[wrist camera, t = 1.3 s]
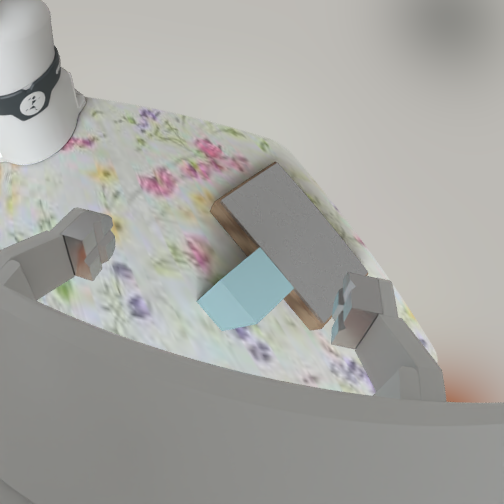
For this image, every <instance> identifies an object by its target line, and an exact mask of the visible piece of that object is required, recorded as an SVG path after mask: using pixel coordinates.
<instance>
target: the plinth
mask: <svg viewBox="0 0 504 504" xmlns="http://www.w3.org/2000/svg"><path fill="white" fill-rule="evenodd" d="M210 212H211V213H212V214H213V216H214V217H215V218H216V219H217V220H218V222H219V223H220V224H221V225H222V226H223V228H224V229H225V230H226V231H227V232H228V234H229V235H230V236H231V237H232V238H233V240H234V241H235V242H236V243H237V244H238V246H239V247H240V248H241V249H242V250H243V251H244V253H245V254H246V255H247V256H248V257H249V256H250V255H251V254H252V253H253V252H255V251H256V250H257V249H258V248H259V247H260V248H261V249H262V250H263V251H264V252H265V254H266V255H267V256H268V257H269V258H270V260H271V261H272V262H273V263H274V264H275V266H276V267H277V268H278V269H279V270H280V272H281V273H282V274H283V275H284V276H285V278H286V279H287V280H288V281H289V282H290V283H291V285H292V286H293V287H294V289H293V290H292V291H291V292H290V293H289V294H288V295H287V296H286V297H285V298H284V300H285V301H286V302H287V304H288V305H289V306H290V307H291V308H292V310H293V311H294V312H295V313H296V314H297V315H298V317H299V318H300V319H301V320H302V321H303V323H304V324H305V325H306V326H307V327H308V328H309V330H317V329H322V328H323V326H324V325H325V324H326V323H327V322H328V321H329V320H330V319H331V317H332V311H333V304H334V301H335V297H336V295H337V293H338V290H340V289H341V288H343V279H344V277H345V275H346V274H347V272H352V273H356V274H360V275H365V276H367V275H368V271H367V270H366V269H365V267H364V266H363V265H362V263H361V262H360V261H359V260H358V258H357V257H356V256H355V254H354V253H353V252H352V251H351V249H350V248H349V247H348V246H347V244H346V243H345V242H344V241H343V239H342V238H341V237H340V236H339V234H338V233H337V232H336V231H335V229H334V228H333V227H332V226H331V225H330V223H329V222H328V221H327V220H326V218H325V217H324V216H323V215H322V214H321V212H320V211H319V210H318V209H317V208H316V206H315V205H314V204H313V203H312V202H311V201H310V199H309V198H308V197H307V196H306V195H305V194H304V192H303V191H302V190H301V189H300V188H299V187H298V185H297V184H296V183H295V182H294V181H293V180H292V179H291V177H290V176H289V175H288V174H287V173H286V172H285V171H284V170H283V168H282V167H281V166H280V165H279V164H278V163H276V162H274V163H272V164H271V165H269V166H268V167H266V168H264V169H263V170H261V171H260V172H258V173H257V174H255V175H254V176H252V177H251V178H249V179H248V180H246V181H245V182H243V183H242V184H240V185H239V186H237V187H236V188H234V189H233V190H231V191H230V192H228V193H227V194H225V195H224V196H222V197H221V198H219V199H218V200H216V201H215V202H214V204H213V206H212V208H211V210H210Z"/></svg>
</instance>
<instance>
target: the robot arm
mask: <svg viewBox="0 0 504 504" xmlns="http://www.w3.org/2000/svg"><path fill="white" fill-rule="evenodd" d="M85 104H86V100H85V97H84V96H83V95H82V94H81V93H79V92H78V91H77V90H76V89H74V85H73V80H72V76H71V74H70V72H67V71H66V70H65V69H63V68H61V67H60V57H59V54H58V51H57V48H56V47H55V46H54V43H53V35H52V26H51V16H50V11H49V8H48V7H47V5H46V4H45V3H44V2H43V1H41V0H0V162H5V161H6V162H10V163H13V164H17V165H29V164H34V163H38V162H40V161H43V160H45V159H47V158H49V157H50V156H52V155H53V154H55V153H56V152H57V151H59V150H60V149H61V148H62V147H63V146H64V145H65V144H66V143H67V141H68V140H69V139H70V137H71V136H72V134H73V132H74V130H75V127H76V124H77V118H78V115H79V113H80V112H81V110H82V109H83V107H84V106H85ZM112 226H113V223H112V218H111V217H110V216H109V215H105V214H101V213H97V212H93V211H90V210H85V209H81V208H74V209H73V210H71V211H70V212H69V213H68V214H67V215H66V216H65V217H64V218H63V219H62V220H61V221H60V222H59V223H58V224H57V225H56V226H55V227H54V228H53V229H52V230H50V231H45V232H42V233H40V234H37V235H35V236H32V237H30V238H28V239H25V240H23V241H20V242H18V243H16V244H13V245H11V246H9V247H7V248H4V249H2V250H0V504H504V403H456V402H446V394H445V387H444V380H443V374H442V370H441V368H440V367H439V366H438V364H437V363H436V362H435V360H434V359H433V358H432V356H431V355H430V354H429V352H428V351H427V350H426V349H425V347H424V346H423V345H422V343H421V342H420V341H419V339H418V338H417V337H416V336H415V334H414V333H413V332H412V331H411V329H410V328H409V327H408V326H407V324H406V323H405V322H404V321H403V319H401V318H398V313H397V307H396V301H395V296H394V290H393V285H392V282H391V281H389V280H385V279H380V278H373V277H369V276H365V275H360V274H356V273H352V272H347V274H346V275H345V277H344V279H343V288H341V289H340V290H338V293H337V295H336V297H335V301H334V304H333V311H332V318H333V319H334V321H335V323H334V325H333V327H332V337H331V344H333V345H337V346H342V347H346V348H351V349H356V350H355V352H356V354H357V355H358V357H359V359H360V361H361V363H362V365H363V367H364V369H365V371H366V373H367V375H368V377H369V379H370V381H371V382H372V384H373V386H374V388H375V390H376V393H375V394H374V395H373V396H369V395H361V394H354V393H347V392H340V391H334V390H327V389H321V388H316V387H310V386H304V385H299V384H294V383H289V382H284V381H279V380H274V379H270V378H265V377H260V376H256V375H252V374H247V373H243V372H239V371H235V370H231V369H227V368H223V367H219V366H216V365H212V364H208V363H205V362H201V361H197V360H194V359H191V358H187V357H184V356H180V355H177V354H174V353H171V352H167V351H164V350H161V349H158V348H155V347H152V346H149V345H146V344H143V343H140V342H137V341H134V340H131V339H129V338H126V337H123V336H120V335H118V334H115V333H112V332H109V331H107V330H104V329H102V328H99V327H96V326H94V325H91V324H89V323H86V322H84V321H81V320H79V319H76V318H74V317H72V316H69V315H67V314H65V313H62V312H60V311H58V310H55V309H53V308H51V307H49V306H46V305H44V304H42V303H40V302H38V301H37V300H38V299H40V298H41V297H43V296H44V295H46V294H47V293H49V292H51V291H52V290H54V289H55V288H57V287H59V286H60V285H62V284H63V283H65V282H67V281H68V280H70V279H71V278H73V277H74V275H75V276H78V277H81V278H84V279H88V280H91V281H93V280H94V279H95V278H96V276H97V275H98V274H99V272H100V271H101V270H102V263H104V262H107V261H108V260H109V259H110V258H111V256H112V255H113V252H114V249H115V236H114V234H113V233H112V232H111V230H110V229H111V228H112Z"/></svg>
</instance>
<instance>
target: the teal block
mask: <svg viewBox="0 0 504 504" xmlns="http://www.w3.org/2000/svg"><path fill="white" fill-rule="evenodd" d="M293 289H294V287H293V286H292V285H291V283H290V282H289V281H288V280H287V279H286V278H285V276H284V275H283V274H282V273H281V272H280V270H279V269H278V268H277V267H276V266H275V264H274V263H273V262H272V261H271V260H270V258H269V257H268V256H267V255H266V254H265V252H264V251H263V250H262V249H261V248H260V247H259V248H258V249H257V250H256V251H255V252H253V253H252V254H251V255H250V256H249V257H247V258H246V259H245V260H244V261H242V262H241V263H240V264H239V265H238V266H236V267H235V268H234V269H233V270H232V271H230V272H229V273H228V274H227V275H226V276H224V277H223V278H222V279H221V280H220V281H219V282H217V283H216V284H215V285H214V286H213V287H212V288H211V289H210V290H209V291H208V292H206V293H205V294H204V295H203V296H202V297H201V298H200V299H199V300H198V301H197V302H198V304H199V305H200V306H201V307H202V308H203V309H204V311H205V312H206V313H207V314H208V315H209V317H210V318H211V319H212V320H213V321H214V322H215V324H216V325H217V326H218V327H219V328H220V329H221V330H222V331H224V330H229V329H234V328H239V327H244V326H249V325H254V324H257V323H258V322H260V321H261V320H262V319H263V318H264V317H265V316H266V315H267V314H268V313H269V312H270V311H271V310H272V309H273V308H274V307H275V306H276V305H277V304H279V303H280V302H281V301H282V300H283V299H284V298H285V297H286V296H287V295H288V294H289V293H290V292H291V291H292V290H293Z"/></svg>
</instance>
